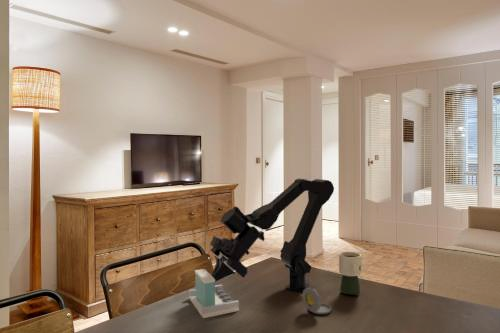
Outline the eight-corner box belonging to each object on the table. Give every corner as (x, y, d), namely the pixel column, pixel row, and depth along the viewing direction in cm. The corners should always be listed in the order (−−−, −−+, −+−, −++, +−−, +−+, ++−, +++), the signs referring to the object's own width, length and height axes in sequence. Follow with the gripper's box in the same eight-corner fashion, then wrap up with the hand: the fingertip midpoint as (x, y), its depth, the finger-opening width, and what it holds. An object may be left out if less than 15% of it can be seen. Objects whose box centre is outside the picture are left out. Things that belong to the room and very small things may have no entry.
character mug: (365, 300, 114) (366, 259, 113) (343, 300, 114) (343, 259, 113) (356, 286, 125) (356, 249, 124) (335, 286, 125) (335, 249, 124)
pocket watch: (332, 307, 109) (332, 274, 108) (329, 319, 101) (329, 284, 101) (305, 303, 112) (305, 271, 111) (300, 315, 104) (299, 281, 103)
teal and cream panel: (205, 294, 116) (204, 268, 116) (215, 307, 107) (215, 279, 106) (195, 296, 115) (194, 270, 114) (205, 309, 105) (204, 280, 105)
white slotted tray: (221, 292, 121) (221, 284, 121) (238, 310, 107) (238, 301, 107) (189, 298, 116) (189, 290, 116) (203, 318, 103) (203, 308, 103)
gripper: (215, 221, 121) (184, 258, 117) (237, 233, 104) (200, 276, 100) (238, 241, 125) (207, 278, 121) (262, 256, 108) (227, 299, 104)
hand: (210, 282), depth 111 cm, fingers closed, pressing on teal and cream panel
